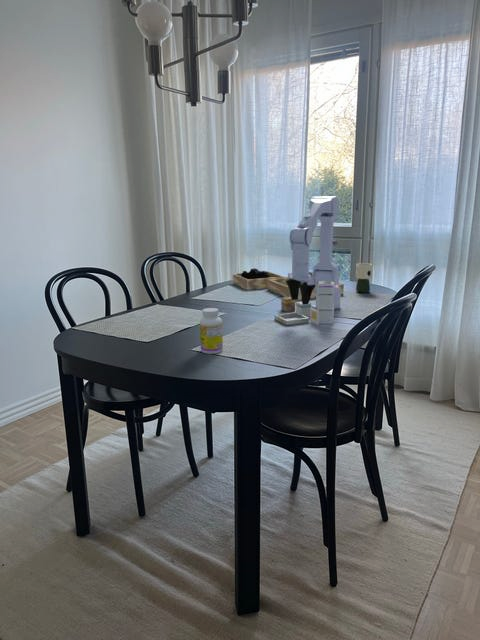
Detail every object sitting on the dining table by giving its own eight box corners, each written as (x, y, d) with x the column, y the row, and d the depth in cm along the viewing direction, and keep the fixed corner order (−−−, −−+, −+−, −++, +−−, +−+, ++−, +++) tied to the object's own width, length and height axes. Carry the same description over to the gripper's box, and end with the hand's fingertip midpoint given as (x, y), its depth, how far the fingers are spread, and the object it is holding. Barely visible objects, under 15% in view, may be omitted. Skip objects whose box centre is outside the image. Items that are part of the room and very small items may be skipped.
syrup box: (333, 324, 168) (334, 284, 165) (316, 323, 170) (317, 283, 166) (333, 320, 174) (335, 281, 170) (317, 319, 175) (318, 280, 171)
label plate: (311, 321, 172) (311, 308, 171) (318, 324, 168) (319, 311, 167) (309, 321, 172) (310, 308, 171) (317, 325, 168) (317, 311, 166)
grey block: (305, 313, 184) (305, 301, 182) (310, 316, 180) (311, 303, 179) (296, 314, 182) (296, 302, 181) (301, 317, 179) (301, 304, 177)
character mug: (367, 295, 213) (369, 266, 210) (352, 293, 216) (353, 265, 213) (373, 290, 223) (374, 262, 219) (357, 289, 226) (359, 262, 222)
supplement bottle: (200, 347, 146) (199, 307, 142) (222, 347, 146) (221, 306, 143) (200, 355, 139) (199, 312, 136) (223, 354, 140) (222, 311, 136)
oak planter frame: (313, 285, 238) (314, 275, 236) (343, 294, 215) (343, 283, 213) (267, 289, 228) (267, 279, 227) (293, 300, 205) (293, 289, 204)
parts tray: (296, 316, 179) (296, 312, 179) (309, 322, 171) (309, 317, 170) (274, 319, 176) (274, 315, 175) (285, 325, 167) (286, 320, 167)
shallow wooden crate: (267, 280, 253) (267, 270, 251) (284, 286, 235) (284, 276, 234) (232, 283, 246) (232, 273, 244) (247, 290, 228) (247, 280, 227)
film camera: (273, 284, 241) (273, 267, 239) (267, 288, 233) (267, 270, 230) (245, 283, 247) (245, 265, 245) (239, 286, 238) (238, 268, 236)
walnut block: (290, 308, 192) (290, 296, 190) (295, 311, 188) (295, 298, 187) (281, 309, 190) (281, 297, 189) (285, 312, 186) (286, 299, 185)
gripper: (280, 261, 168) (280, 298, 171) (300, 267, 155) (300, 307, 158) (297, 259, 170) (297, 296, 174) (319, 265, 157) (318, 305, 161)
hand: (299, 301), depth 166 cm, fingers open, 7 cm apart
